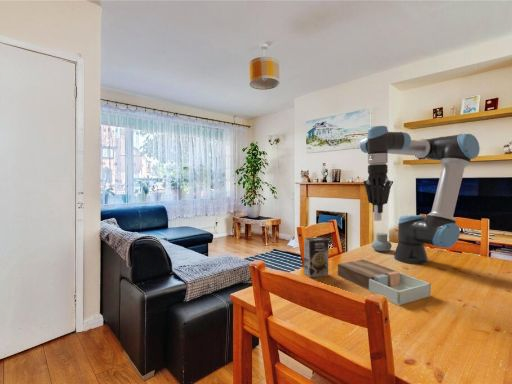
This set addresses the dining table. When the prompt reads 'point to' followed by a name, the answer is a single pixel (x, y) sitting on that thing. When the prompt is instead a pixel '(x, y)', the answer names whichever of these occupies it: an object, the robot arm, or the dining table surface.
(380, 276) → the slate tile
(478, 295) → the dining table surface
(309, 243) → the coffee box
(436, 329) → the dining table surface
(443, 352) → the dining table surface
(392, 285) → the terracotta tile
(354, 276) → the board
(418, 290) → the tray
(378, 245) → the air freshener
